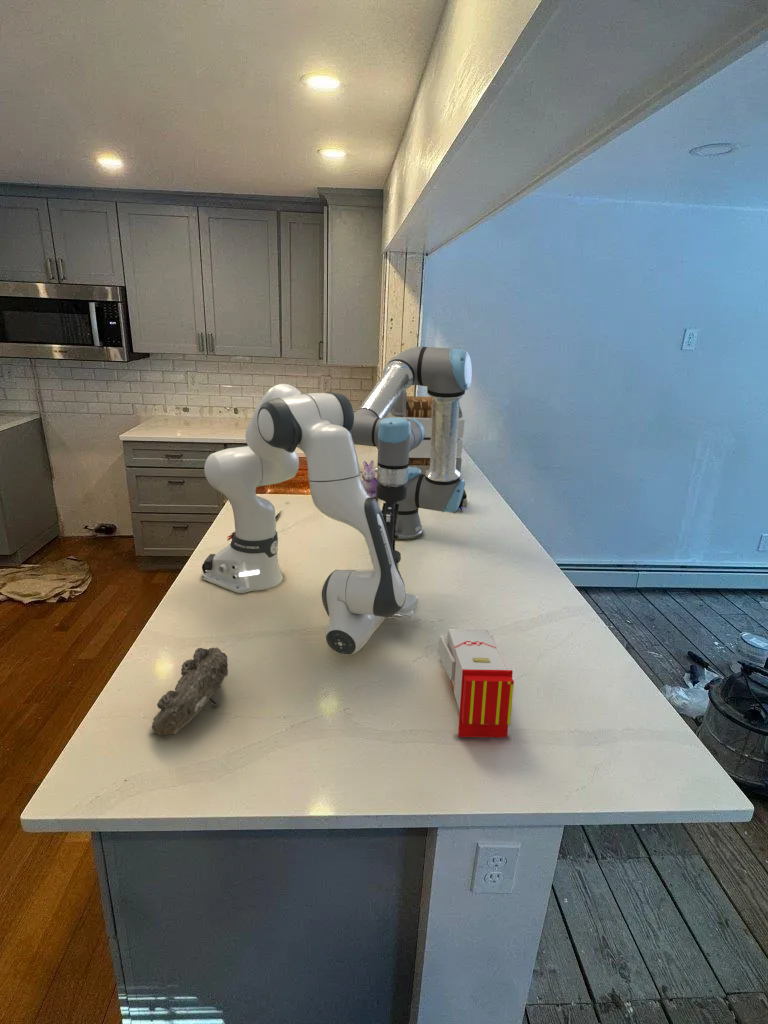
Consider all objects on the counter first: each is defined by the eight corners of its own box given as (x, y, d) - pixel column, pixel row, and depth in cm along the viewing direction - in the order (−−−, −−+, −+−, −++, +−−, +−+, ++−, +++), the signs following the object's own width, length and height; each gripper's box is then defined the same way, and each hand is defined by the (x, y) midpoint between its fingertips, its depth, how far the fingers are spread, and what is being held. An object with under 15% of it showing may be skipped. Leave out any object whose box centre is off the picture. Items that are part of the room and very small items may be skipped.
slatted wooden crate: (382, 463, 289) (386, 382, 275) (445, 464, 293) (451, 384, 279) (390, 482, 257) (394, 392, 243) (460, 483, 261) (468, 394, 247)
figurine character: (467, 516, 223) (461, 500, 237) (469, 499, 220) (463, 483, 233) (450, 516, 223) (446, 499, 236) (452, 498, 220) (447, 483, 233)
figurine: (365, 500, 232) (366, 464, 227) (354, 493, 241) (355, 458, 236) (385, 497, 237) (387, 463, 231) (374, 490, 245) (375, 457, 240)
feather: (288, 505, 226) (290, 501, 226) (271, 529, 199) (273, 524, 199) (284, 503, 226) (287, 499, 225) (266, 526, 199) (269, 522, 199)
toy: (488, 613, 130) (523, 677, 101) (484, 667, 133) (517, 744, 104) (435, 612, 130) (455, 676, 101) (432, 666, 133) (451, 743, 103)
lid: (371, 555, 147) (371, 550, 146) (395, 553, 149) (395, 547, 149) (380, 566, 141) (380, 560, 141) (404, 563, 143) (404, 557, 143)
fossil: (179, 649, 121) (229, 617, 116) (211, 678, 124) (260, 649, 119) (128, 729, 101) (185, 695, 96) (167, 762, 104) (224, 731, 99)
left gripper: (409, 607, 132) (426, 583, 144) (330, 590, 138) (352, 568, 151) (407, 631, 134) (424, 605, 146) (329, 612, 141) (352, 589, 153)
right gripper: (380, 471, 147) (377, 552, 155) (372, 493, 129) (368, 584, 137) (409, 472, 147) (404, 554, 155) (404, 495, 129) (399, 586, 137)
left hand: (387, 586), depth 149 cm, fingers closed on jar, 5 cm apart
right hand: (387, 568), depth 146 cm, fingers closed on lid, 6 cm apart
